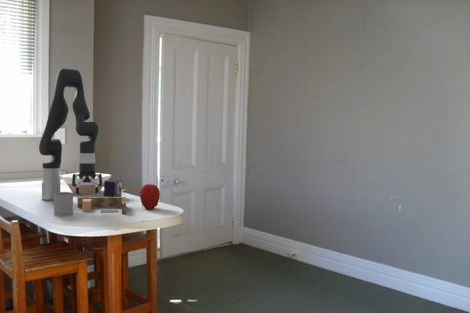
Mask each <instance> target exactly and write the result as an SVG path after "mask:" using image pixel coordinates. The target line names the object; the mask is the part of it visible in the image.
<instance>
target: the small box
mask: <svg viewBox="0 0 470 313" xmlns="http://www.w3.org/2000/svg"><path fill="white" fill-rule="evenodd" d="M122 181H123V180H122V179H116V178H115V179H114V178H111V179H110V178H109V179H108V180H106V181H104V185H103V197H122V192H123V191H122V190H123V189H122V187H123V186H122V183H123V182H122Z"/></svg>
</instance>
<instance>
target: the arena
mask: <svg viewBox="0 0 470 313" xmlns="http://www.w3.org/2000/svg"><path fill="white" fill-rule="evenodd" d="M83 199H92V202H91V208H121V215H127V197H126V196H121V197H104V196H77V200H76V201H77V202H76V203H77V205H76V206H77V208H79V209H80V208H81V209H82V201H83Z"/></svg>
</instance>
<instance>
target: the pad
mask: <svg viewBox="0 0 470 313" xmlns="http://www.w3.org/2000/svg"><path fill="white" fill-rule="evenodd" d="M118 212H119V211H118V209H101V210H100V213H118Z"/></svg>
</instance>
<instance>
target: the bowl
mask: <svg viewBox="0 0 470 313" xmlns="http://www.w3.org/2000/svg"><path fill="white" fill-rule="evenodd" d="M95 173H96V174H102V186H99V187H98V194H99V193H100V192H101V190H102V189H103V188H104V181H106V180H110V178H112V174H110V173H109V174H108V173H100V172H95ZM73 174H79V172H74V173H68V174H66V173H65V174H60V180H61V179H62V181H64V183H66V185H67V186H68V188H69V190H70V191H71V193H73V194H75V195H77V194H76V187H75V186H72V178H73ZM80 180H81V179H80V178H79V177H77V178H75V184H78V182H79V181H80ZM94 180H95V181H96V182H97V184H99V178H98V177H97V176H96V177H95V178H94ZM95 187H96V186H95V185H94V184H93V183H92V182H91V183H88V182H86V183H84V182H82V183H81V184H80V185H79V195H82V196H83V195H84V196H85V195H86V196H88V195H89V196H90V195H94V194H95Z"/></svg>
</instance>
